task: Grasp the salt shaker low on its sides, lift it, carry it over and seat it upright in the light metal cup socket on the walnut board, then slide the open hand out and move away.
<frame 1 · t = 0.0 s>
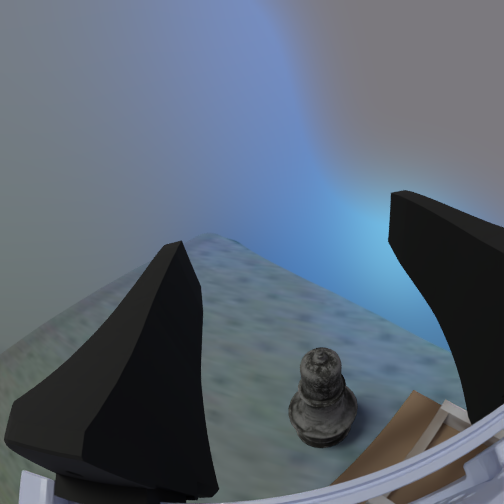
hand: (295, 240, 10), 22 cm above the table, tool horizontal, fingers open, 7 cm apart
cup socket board: (448, 484, 14), on the table
salt shaker: (323, 424, 23), on the table
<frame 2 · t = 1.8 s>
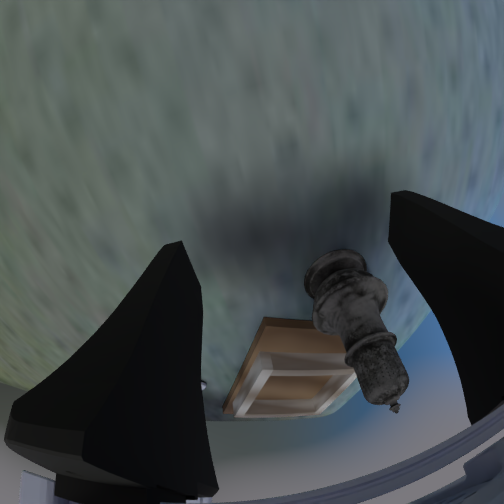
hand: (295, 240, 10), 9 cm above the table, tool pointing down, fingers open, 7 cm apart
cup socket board: (291, 374, 30), on the table
salt shaker: (335, 275, 23), on the table
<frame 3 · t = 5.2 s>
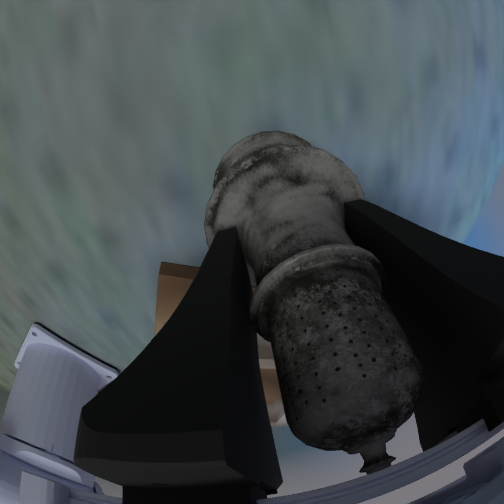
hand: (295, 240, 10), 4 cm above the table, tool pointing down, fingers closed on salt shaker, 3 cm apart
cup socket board: (234, 366, 21), on the table
salt shaker: (271, 185, 13), on the table, touching gripper
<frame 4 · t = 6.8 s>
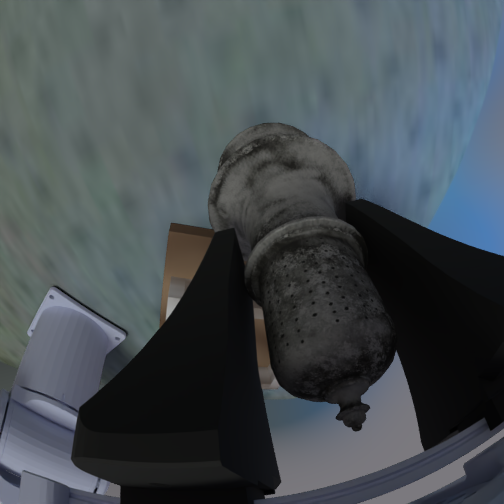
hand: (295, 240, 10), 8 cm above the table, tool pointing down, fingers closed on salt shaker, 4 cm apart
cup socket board: (231, 326, 24), on the table
salt shaker: (271, 173, 14), point 3 cm above the table, touching gripper
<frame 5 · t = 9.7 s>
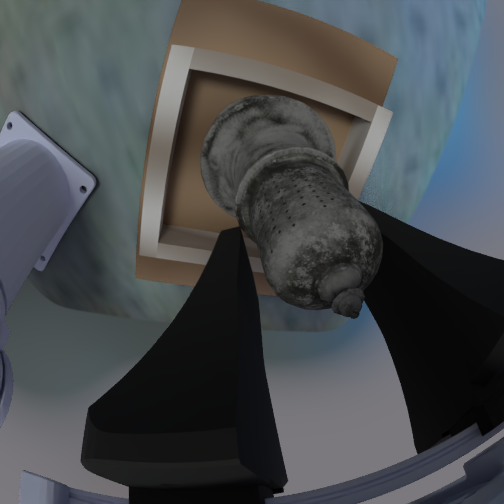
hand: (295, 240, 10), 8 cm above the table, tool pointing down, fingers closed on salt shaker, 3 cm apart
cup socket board: (253, 161, 16), on the table
salt shaker: (257, 142, 15), point 1 cm above the table, touching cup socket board, gripper
when the fingers open (6 cm above the table, at t = 10.5 s): salt shaker stays where it is, resting on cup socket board.
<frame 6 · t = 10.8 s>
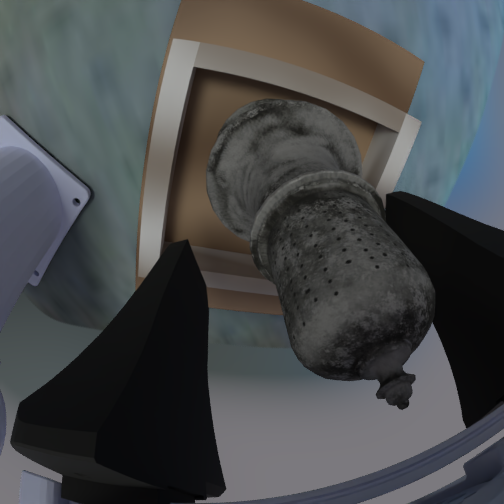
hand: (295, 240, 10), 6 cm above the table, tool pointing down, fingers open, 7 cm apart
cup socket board: (265, 172, 15), on the table
salt shaker: (270, 151, 13), point 1 cm above the table, touching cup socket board
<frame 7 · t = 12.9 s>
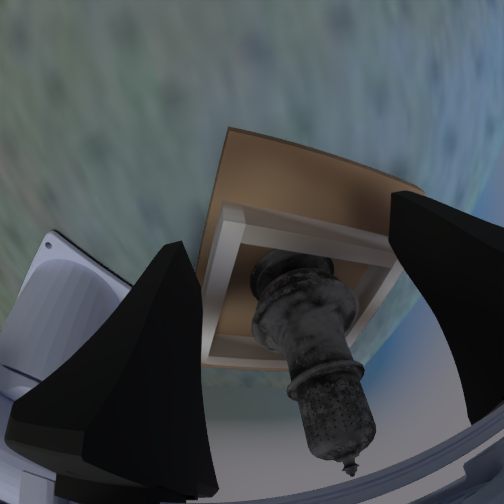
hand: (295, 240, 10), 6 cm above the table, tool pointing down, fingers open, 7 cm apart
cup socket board: (286, 284, 19), on the table
salt shaker: (292, 276, 18), point 1 cm above the table, touching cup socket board
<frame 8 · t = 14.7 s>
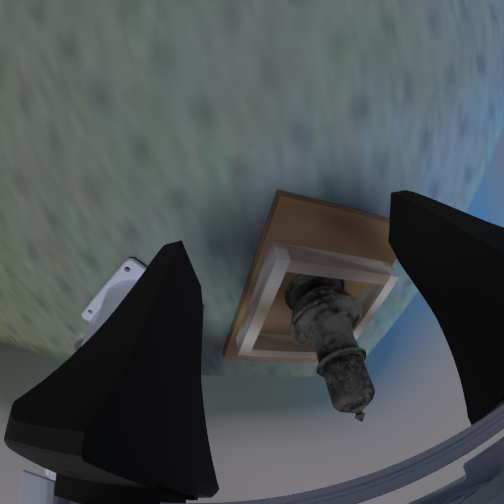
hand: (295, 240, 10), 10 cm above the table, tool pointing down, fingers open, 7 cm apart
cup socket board: (308, 295, 26), on the table
salt shaker: (314, 290, 25), point 1 cm above the table, touching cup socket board
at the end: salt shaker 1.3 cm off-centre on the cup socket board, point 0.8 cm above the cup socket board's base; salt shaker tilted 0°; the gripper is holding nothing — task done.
